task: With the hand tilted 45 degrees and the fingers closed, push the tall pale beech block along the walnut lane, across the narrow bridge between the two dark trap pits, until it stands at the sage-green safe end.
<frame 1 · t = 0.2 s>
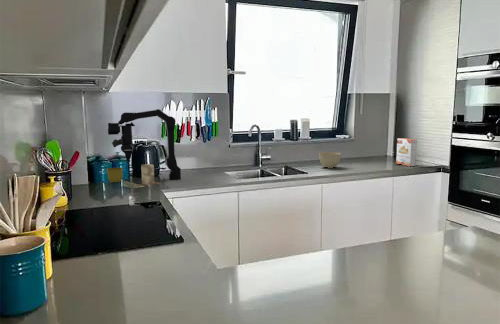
hand: (128, 160, 228), 14 cm above the counter, tool pointing down, fingers open, 9 cm apart
cracker box: (405, 166, 298), on the counter
planter bowl: (329, 167, 291), on the counter
beech block: (148, 183, 224), point 1 cm above the counter, touching walnut lane
flower pot: (115, 183, 233), on the counter
walnut lane: (144, 186, 222), on the counter
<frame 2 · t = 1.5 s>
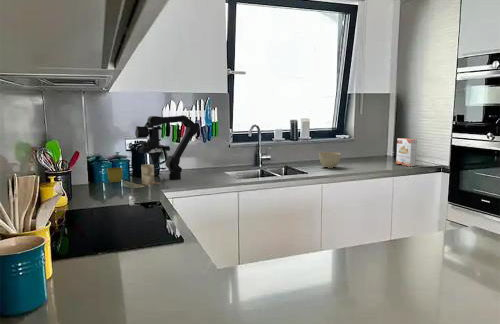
hand: (155, 163, 230), 12 cm above the counter, tool pointing down, fingers closed
nothing on the counter moved.
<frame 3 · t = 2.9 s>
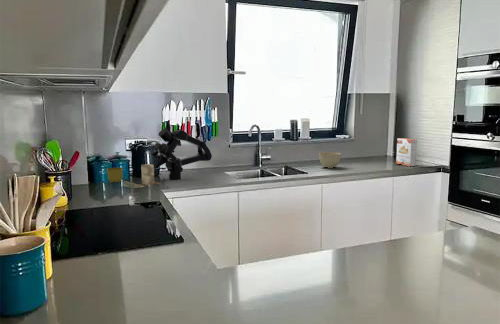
hand: (155, 167, 227), 10 cm above the counter, tool tilted 45°, fingers closed
nothing on the counter moved.
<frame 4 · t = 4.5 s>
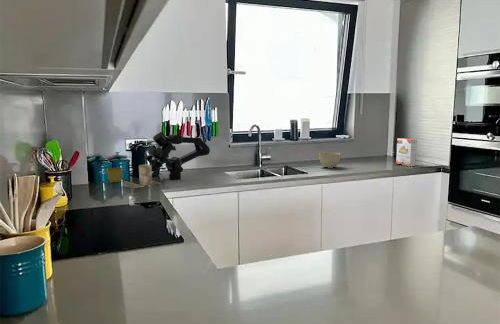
hand: (149, 171, 224), 8 cm above the counter, tool tilted 45°, fingers closed, pressing on beech block
beech block: (145, 184, 223), point 2 cm above the counter, touching gripper, walnut lane
everything else where it was.
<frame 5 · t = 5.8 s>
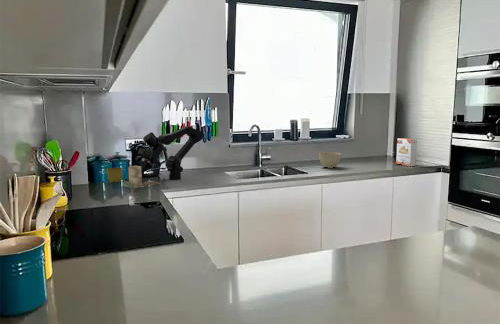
hand: (139, 173, 219), 8 cm above the counter, tool tilted 45°, fingers closed, pressing on beech block
beech block: (135, 185, 218), point 2 cm above the counter, touching gripper
everything else where it was.
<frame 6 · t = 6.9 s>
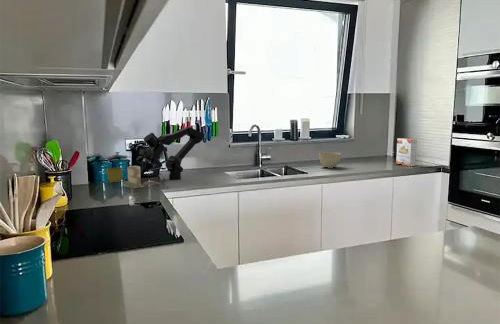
hand: (140, 173, 219), 8 cm above the counter, tool tilted 45°, fingers closed
beech block: (134, 186, 217), point 1 cm above the counter, touching walnut lane
everything else where it was.
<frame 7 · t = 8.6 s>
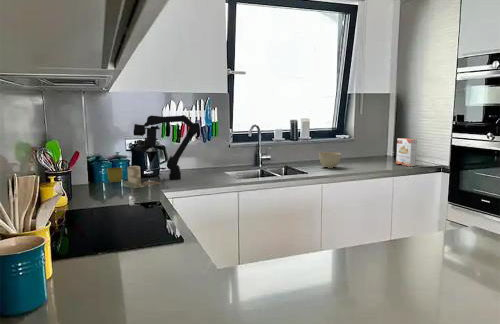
hand: (150, 162, 234), 12 cm above the counter, tool pointing down, fingers closed
nothing on the counter moved.
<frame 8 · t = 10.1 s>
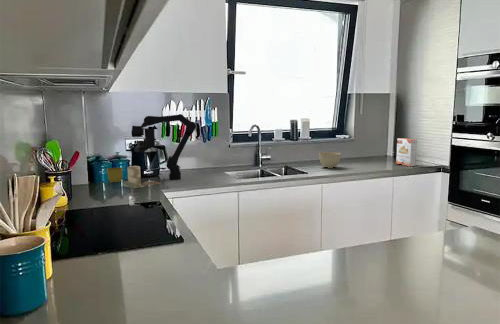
hand: (150, 162, 235), 12 cm above the counter, tool pointing down, fingers closed
nothing on the counter moved.
at the end: beech block inside the target area (0.3 cm from its centre), point 1.5 cm above the counter; beech block tilted 0° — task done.
